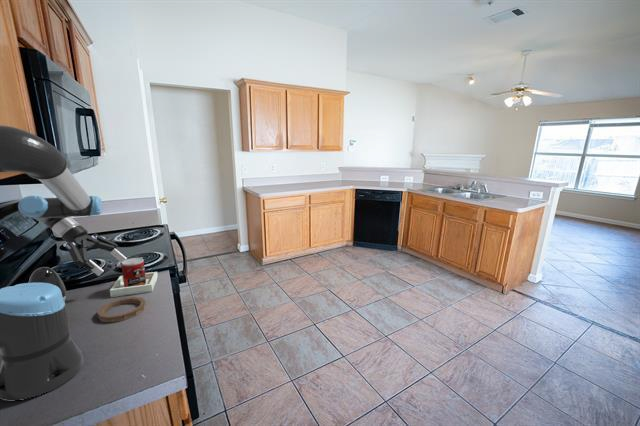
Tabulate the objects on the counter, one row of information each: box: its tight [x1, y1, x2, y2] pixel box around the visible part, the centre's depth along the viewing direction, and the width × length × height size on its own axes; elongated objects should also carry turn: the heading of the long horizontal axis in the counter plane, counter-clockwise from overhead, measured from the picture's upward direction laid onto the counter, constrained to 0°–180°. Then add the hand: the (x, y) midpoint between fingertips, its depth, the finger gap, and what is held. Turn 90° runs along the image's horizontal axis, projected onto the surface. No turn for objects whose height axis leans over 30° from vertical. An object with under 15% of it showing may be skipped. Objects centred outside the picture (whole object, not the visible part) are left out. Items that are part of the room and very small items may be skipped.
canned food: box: [121, 257, 146, 287], centre depth 114 cm, size 8×8×11 cm
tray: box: [109, 271, 159, 298], centre depth 115 cm, size 14×14×3 cm
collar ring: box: [96, 296, 147, 323], centre depth 97 cm, size 13×13×2 cm
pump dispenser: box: [27, 266, 67, 301], centre depth 98 cm, size 10×10×15 cm
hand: (113, 266), depth 114 cm, fingers open, 13 cm apart
